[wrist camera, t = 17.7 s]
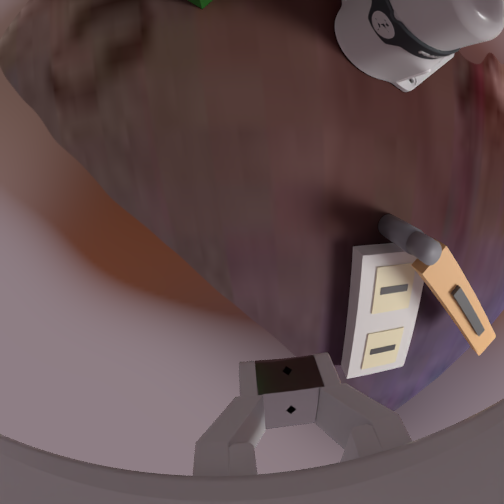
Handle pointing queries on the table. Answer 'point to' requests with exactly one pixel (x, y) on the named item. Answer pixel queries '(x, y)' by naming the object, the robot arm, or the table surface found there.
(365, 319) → the two-drawer filing cabinet
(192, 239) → the table surface
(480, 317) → the light wooden bar
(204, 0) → the hardback book
